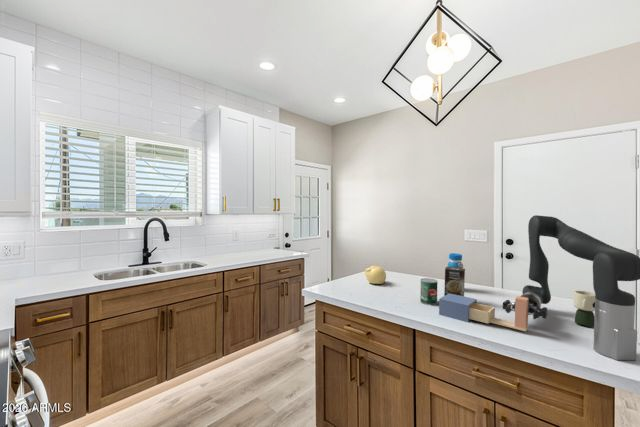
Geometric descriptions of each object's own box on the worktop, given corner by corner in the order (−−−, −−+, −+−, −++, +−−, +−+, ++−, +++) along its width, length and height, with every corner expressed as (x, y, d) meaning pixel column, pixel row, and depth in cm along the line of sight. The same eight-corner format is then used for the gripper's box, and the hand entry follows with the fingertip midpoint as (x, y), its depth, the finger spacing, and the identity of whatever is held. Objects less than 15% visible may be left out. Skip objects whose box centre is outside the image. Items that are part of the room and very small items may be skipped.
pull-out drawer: (529, 326, 116) (529, 296, 116) (524, 332, 110) (525, 301, 110) (467, 311, 132) (467, 285, 132) (460, 316, 126) (460, 289, 126)
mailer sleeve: (476, 314, 131) (476, 299, 130) (468, 322, 123) (468, 305, 123) (448, 308, 139) (449, 293, 139) (439, 314, 131) (439, 298, 131)
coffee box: (443, 300, 150) (444, 268, 149) (445, 296, 156) (445, 266, 155) (463, 303, 146) (464, 270, 145) (464, 299, 151) (465, 268, 151)
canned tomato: (422, 298, 153) (422, 277, 152) (438, 301, 149) (438, 279, 148) (418, 303, 146) (418, 281, 145) (435, 306, 142) (436, 283, 141)
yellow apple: (374, 279, 190) (374, 262, 190) (389, 283, 181) (389, 266, 180) (362, 282, 183) (362, 265, 183) (377, 287, 174) (377, 268, 173)
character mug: (596, 331, 114) (597, 298, 113) (571, 326, 119) (572, 294, 118) (597, 323, 121) (598, 292, 121) (574, 318, 126) (575, 288, 126)
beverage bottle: (447, 290, 166) (448, 255, 166) (446, 286, 175) (446, 252, 174) (464, 292, 164) (464, 255, 163) (461, 287, 172) (462, 253, 171)
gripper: (509, 290, 129) (499, 299, 118) (550, 298, 119) (544, 308, 108) (509, 307, 130) (499, 318, 118) (550, 316, 120) (543, 328, 108)
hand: (520, 313), depth 113 cm, fingers open, 8 cm apart
